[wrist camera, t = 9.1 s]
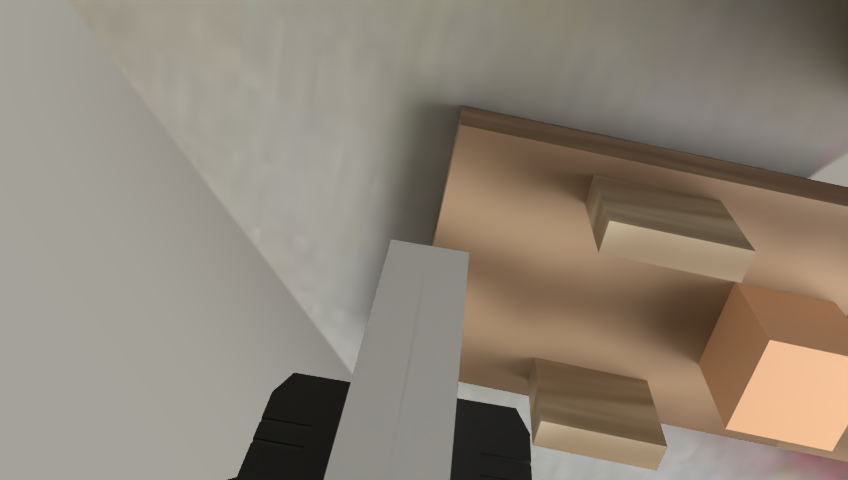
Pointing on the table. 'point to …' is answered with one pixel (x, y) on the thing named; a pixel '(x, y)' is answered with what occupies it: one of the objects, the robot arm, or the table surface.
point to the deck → (620, 275)
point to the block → (780, 366)
